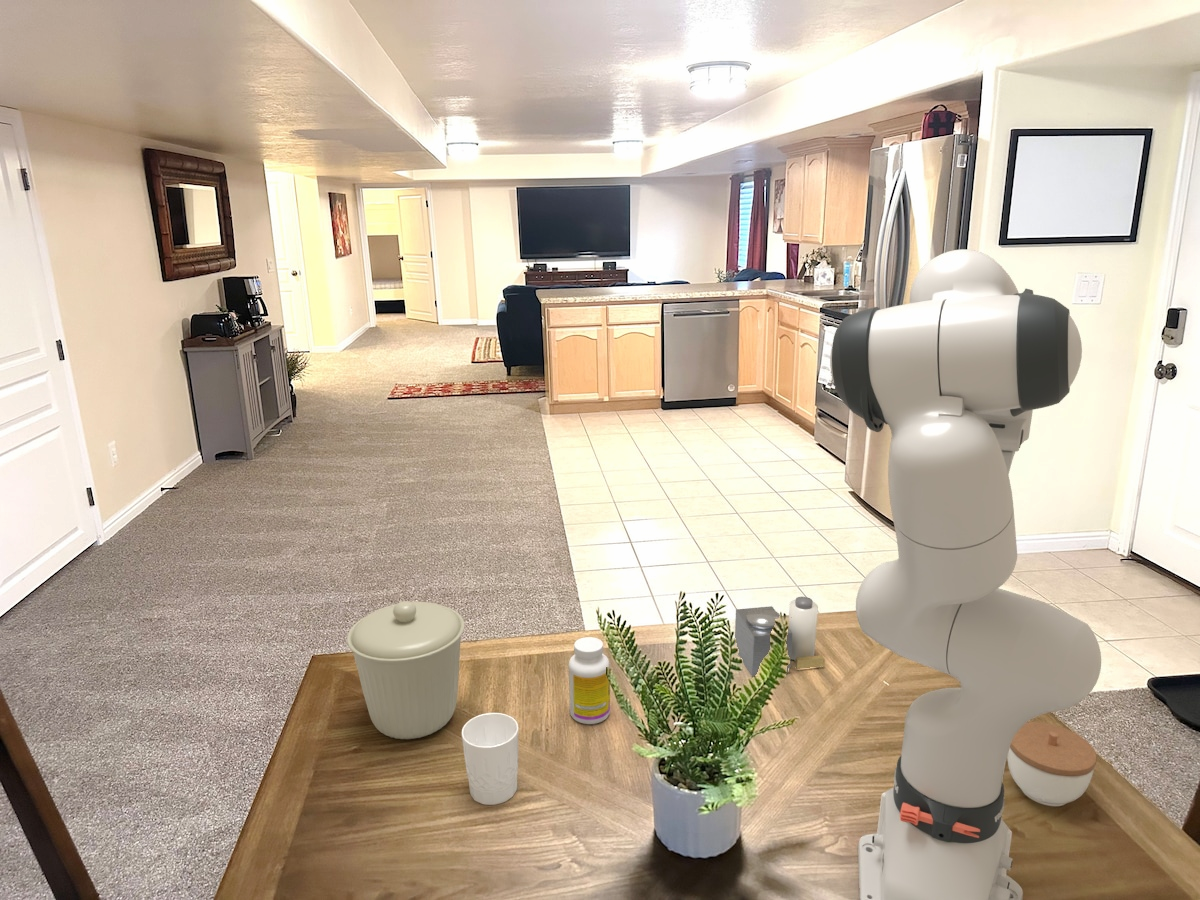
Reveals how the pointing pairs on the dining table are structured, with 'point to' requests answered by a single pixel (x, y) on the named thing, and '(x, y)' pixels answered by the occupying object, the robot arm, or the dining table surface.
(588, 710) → the supplement bottle
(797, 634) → the white bottle
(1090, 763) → the lidded jar
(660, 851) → the dining table surface
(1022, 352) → the robot arm
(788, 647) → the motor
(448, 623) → the canister
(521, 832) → the dining table surface
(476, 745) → the white cup
